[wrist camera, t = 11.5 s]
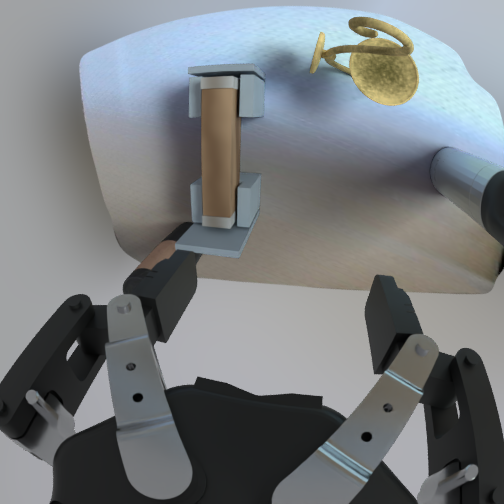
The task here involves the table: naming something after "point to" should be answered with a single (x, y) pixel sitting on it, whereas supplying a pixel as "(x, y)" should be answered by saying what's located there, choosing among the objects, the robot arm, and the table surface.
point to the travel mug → (157, 257)
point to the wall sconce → (375, 62)
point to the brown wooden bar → (220, 150)
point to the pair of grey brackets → (250, 183)
